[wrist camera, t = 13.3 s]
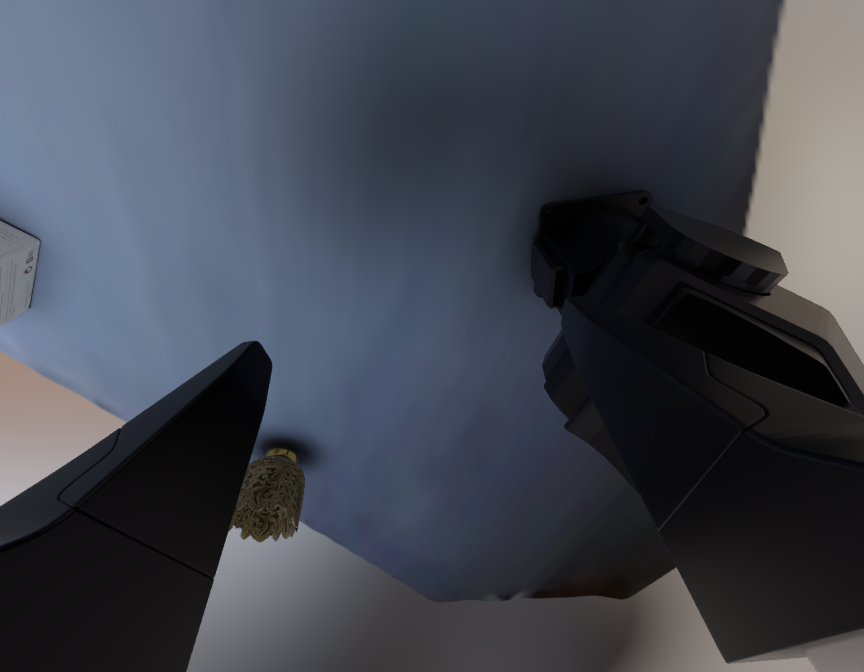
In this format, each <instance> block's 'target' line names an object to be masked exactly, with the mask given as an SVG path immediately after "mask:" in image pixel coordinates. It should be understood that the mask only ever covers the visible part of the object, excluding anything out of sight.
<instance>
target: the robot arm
mask: <svg viewBox="0 0 864 672" xmlns="http://www.w3.org/2000/svg"><path fill="white" fill-rule="evenodd" d="M642 197H644V200H643V201H642V202H641V203H639V200H640V199H641V198H642ZM651 201H652V195H651V194H650V193H649V192H647V191H644V190H641V191H634V192H627V193H621V194H614V195H607V196H600V197H593V198H586V199H580V200H573V201H566V202H559V203H552V204H547V205H545V206H544V207H542V209H541V210H540V214H539V228H538V239H536V240H535V241H534V242H533V250H532V267H531V277H532V278H533V280H534V282H535V286H534V291H535V294H536V295H537V296H538V297H541V298H543V299H544V301H545V302H546V304H547V306H548V307H550V308H551V309H552V308H557V309H558V311H559V312H560V314H561V316H562V319H561V326H562V330H561V331H560V333H559V335H558V336H557V338H556V339H555V341H554V342H553V344H552V345H551V347H550V348H549V350H548V351H547V353H546V354H545V357H544V361H543V364H542V367H543V371H544V375H545V379H546V382H545V384H544V388H545V390H546V392H547V394H548V395H549V397H550V398H551V400H552V401H553V403H554V404H555V405H556V406H557V407H558V409H559V410H560V411H561V412H562V413H563V414H564V415H565V416H566V417H567V418H568V419H569V420H568V421H567V422H566V424H565V425H564V427H565V429H566V430H568V431H569V432H571V433H572V434H574V435H576V436H577V437H579V438H581V439H582V440H584V441H586V442H587V443H588V444H590V445H591V446H592V447H593V448H595V449H596V450H597V451H598V452H599V453H601V454H602V455H603V456H604V457H605V458H606V459H607V460H608V461H609V462H610V463H611V464H612V465H613V466H614V467H615V468H616V469H617V470H618V471H619V472H620V473H621V475H622V476H623V477H624V478H625V479H626V480H627V481H628V482H629V484H630V485H631V486H632V487H633V488H634V489H635V490H636V491H637V493H639V494H640V496H641V498H642V499H643V501H644V503H645V505H646V507H647V509H648V511H649V513H650V515H651V517H652V519H653V521H654V523H655V525H656V527H657V529H658V530H659V531H660V532H659V533H660V535H661V537H662V539H663V541H664V543H665V545H666V547H667V549H668V551H669V553H670V555H671V557H672V559H673V561H674V563H675V565H676V567H677V569H678V571H679V573H680V574H681V577H682V578H683V580H684V582H685V584H686V586H687V588H688V590H689V592H690V594H691V596H692V598H693V600H694V602H695V604H696V606H697V608H698V610H699V612H700V614H701V616H702V618H703V620H704V622H705V624H706V626H707V628H708V630H709V632H710V633H711V635H712V637H713V639H714V641H715V643H716V645H717V647H718V649H719V651H720V653H721V655H722V656H723V658H724V660H725V661H726V663H728V664H730V663H742V662H754V661H766V660H776V659H789V658H800V657H807V658H808V659H809V661H810V662H811V663H812V665H813V666H814V668H815V669H816V671H817V672H864V365H863V363H862V362H861V360H860V359H859V357H858V355H857V354H856V352H855V350H854V349H853V347H852V346H851V344H850V342H849V341H848V339H847V337H846V336H845V334H844V333H843V331H842V329H841V328H840V326H839V324H838V323H837V321H836V319H835V318H834V316H833V315H832V314H831V313H830V312H829V311H828V310H826V309H825V308H823V307H821V306H819V305H817V304H815V303H813V302H811V301H809V300H807V299H805V298H803V297H801V296H799V295H797V294H795V293H793V292H791V291H788V290H786V289H784V288H782V287H780V286H778V285H777V284H778V283H779V282H780V281H781V280H782V279H783V278H784V277H785V276H786V275H787V274H788V271H787V268H786V266H785V263H784V261H783V258H782V256H781V253H780V252H778V251H777V250H774V249H772V248H770V247H768V246H765V245H763V244H761V243H759V242H756V241H754V240H752V239H750V238H747V237H745V236H743V235H740V234H738V233H736V232H734V231H731V230H728V229H725V228H722V227H719V226H715V225H712V224H709V223H706V222H703V221H699V220H696V219H693V218H690V217H687V216H683V215H680V214H677V213H674V212H670V211H667V210H664V209H661V208H658V207H654V206H651ZM549 210H552V213H551V215H550V216H548V217H547V216H545V215H546V212H547V211H549ZM539 291H540V292H539ZM271 372H272V362H271V359H270V358H269V356H268V355H267V353H266V351H265V350H264V348H263V347H262V345H261V344H260V343H259V342H258V341H249V342H243V343H241V344H240V345H238V346H237V347H235V348H234V349H232V350H231V351H230V352H228V353H227V354H225V355H224V356H222V357H221V358H219V359H218V360H217V361H215V362H214V363H212V364H211V365H209V366H208V367H207V368H205V369H204V370H202V371H201V372H199V373H198V374H196V375H195V376H194V377H192V378H191V379H189V380H188V381H186V382H185V383H184V384H182V385H181V386H179V387H178V388H176V389H175V390H173V391H172V392H171V393H169V394H168V395H166V396H165V397H163V398H162V399H161V400H159V401H158V402H156V403H155V404H153V405H152V406H150V407H149V408H148V409H146V410H145V411H143V412H142V413H140V414H139V415H138V416H136V417H135V418H133V419H132V420H130V421H129V422H128V423H126V424H125V425H123V426H122V428H119V429H117V430H116V431H115V432H113V433H112V434H110V435H109V436H108V437H106V438H104V439H103V440H102V441H100V442H99V443H97V444H96V445H94V446H93V447H92V448H90V449H88V450H87V451H85V452H84V453H82V454H81V455H80V456H78V457H76V458H75V459H73V460H72V461H70V462H69V463H67V464H66V465H64V466H63V467H61V468H59V469H58V470H56V471H55V472H53V473H52V474H50V475H49V476H47V477H46V478H44V479H42V480H41V481H39V482H38V483H36V484H35V485H33V486H32V487H30V488H28V489H27V490H25V491H24V492H22V493H20V494H19V495H18V496H16V497H14V498H13V499H11V500H9V501H8V502H6V503H5V504H3V505H2V506H0V672H186V671H187V667H188V664H189V660H190V657H191V654H192V651H193V647H194V644H195V641H196V637H197V634H198V631H199V627H200V624H201V621H202V617H203V614H204V611H205V608H206V604H207V601H208V598H209V594H210V591H211V588H212V584H213V581H214V579H213V578H214V576H215V574H216V570H217V567H218V564H219V561H220V557H221V554H222V550H223V547H224V544H225V541H226V537H227V534H228V531H229V527H230V524H231V521H232V518H233V514H234V511H235V508H236V504H237V501H238V498H239V494H240V491H241V488H242V484H243V481H244V478H245V474H246V471H247V468H248V465H249V461H250V458H251V455H252V451H253V448H254V445H255V441H256V438H257V435H258V431H259V428H260V425H261V422H262V418H263V414H264V410H265V406H266V400H267V395H268V389H269V384H270V378H271Z"/></svg>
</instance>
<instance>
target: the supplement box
mask: <svg viewBox="0 0 864 672" xmlns="http://www.w3.org/2000/svg"><path fill="white" fill-rule="evenodd" d="M39 245H40V241H39V240H38V239H36V238H34V237H32V236H30V235H28V234H26V233H24V232H22V231H20V230H18V229H16V228H14V227H12V226H10V225H8V224H6V223H4V222H2V221H0V326H2V325H4V324H5V323H7V322H9V321H11V320H12V319H14V318H16V317H17V316H19V315H21V314H22V313H24V312H26V311H27V310H28V307H29V305H30V300H31V294H32V289H33V282H34V277H35V271H36V266H37V259H38V252H39Z"/></svg>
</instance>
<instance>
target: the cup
mask: <svg viewBox="0 0 864 672" xmlns="http://www.w3.org/2000/svg"><path fill="white" fill-rule="evenodd" d="M299 460H300V457H299V453H298V451H297V450H296V449H295V448H293V447H291V446H289V445H284V444H278V445H274V446H271V447H270V448H269V449H268V450H267V451H266V452H265V455H264V457H261V458H259V459H257V460H255V461H253V462H252V463H250V464H249V465H248V468H247V471H246V474H245V478H244V481H243V484H242V488H241V491H240V494H239V498H238V501H237V504H236V508H235V511H234V514H233V518H232V521H231V524H230V527H229V531H230V530H231V529H232V526H233V525H234V526H235V527H236V528H241V529H242V532H241V535H240V536H241V538H242V539H246V538H247V537H249V536H250V534H251V535H252V538H253V539H255V540H256V541H258V542H262V541H264V540H265V539H267V538H268V537H269V536H271V535H272V534H273V535H272V536H273V538H274V540H275V541H277V540H278V538H279V536H280V534H281V532H282V535H283V537H284V538H285V539H287V538H288V537H289V536H290V535H291V537H292V536H293V534H294V531H295V529H296V532H297V529H298V528H296V527H298V523H299V518H300V512H301V507H302V501H303V495H304V487H305V478H304V473H303V471H302V469H301V467H300V466H299V465H298V462H299ZM229 531H228V532H229Z"/></svg>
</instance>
